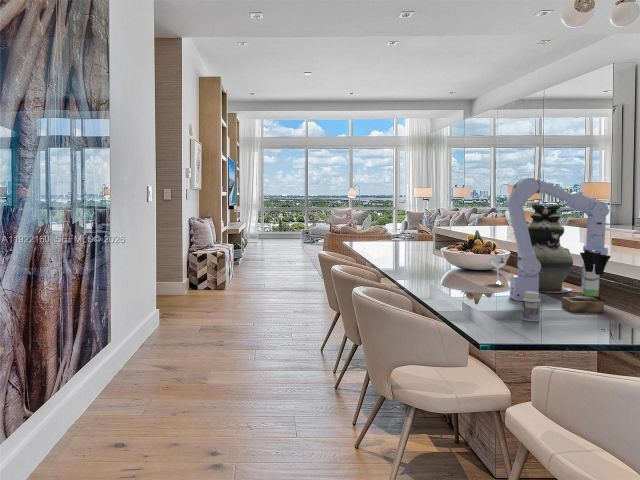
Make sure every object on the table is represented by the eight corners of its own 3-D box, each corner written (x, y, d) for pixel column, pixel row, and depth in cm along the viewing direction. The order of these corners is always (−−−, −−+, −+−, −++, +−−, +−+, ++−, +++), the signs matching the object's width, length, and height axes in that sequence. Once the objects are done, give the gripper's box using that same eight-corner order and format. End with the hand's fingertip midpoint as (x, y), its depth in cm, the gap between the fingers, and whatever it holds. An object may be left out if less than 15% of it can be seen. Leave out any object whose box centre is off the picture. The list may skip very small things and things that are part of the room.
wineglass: (486, 281, 225) (487, 255, 224) (499, 281, 227) (500, 255, 226) (496, 284, 219) (497, 256, 218) (509, 283, 221) (510, 256, 220)
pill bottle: (525, 317, 153) (526, 290, 153) (541, 319, 151) (542, 292, 150) (520, 320, 150) (521, 292, 149) (536, 322, 147) (537, 294, 146)
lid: (573, 308, 171) (573, 298, 171) (563, 303, 180) (563, 294, 179) (605, 309, 170) (606, 299, 170) (594, 304, 179) (594, 295, 178)
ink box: (599, 297, 190) (600, 266, 189) (584, 296, 192) (586, 265, 191) (594, 293, 198) (595, 263, 197) (580, 292, 200) (581, 263, 199)
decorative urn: (528, 285, 221) (529, 205, 219) (579, 290, 206) (581, 204, 204) (507, 289, 205) (508, 204, 204) (561, 295, 191) (563, 203, 189)
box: (571, 312, 162) (571, 301, 162) (561, 307, 170) (561, 297, 169) (603, 312, 161) (604, 302, 161) (592, 307, 169) (592, 297, 169)
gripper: (617, 236, 170) (615, 276, 171) (597, 234, 185) (596, 270, 186) (596, 236, 171) (594, 275, 172) (578, 233, 185) (576, 270, 186)
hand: (593, 273), depth 179 cm, fingers open, 7 cm apart
